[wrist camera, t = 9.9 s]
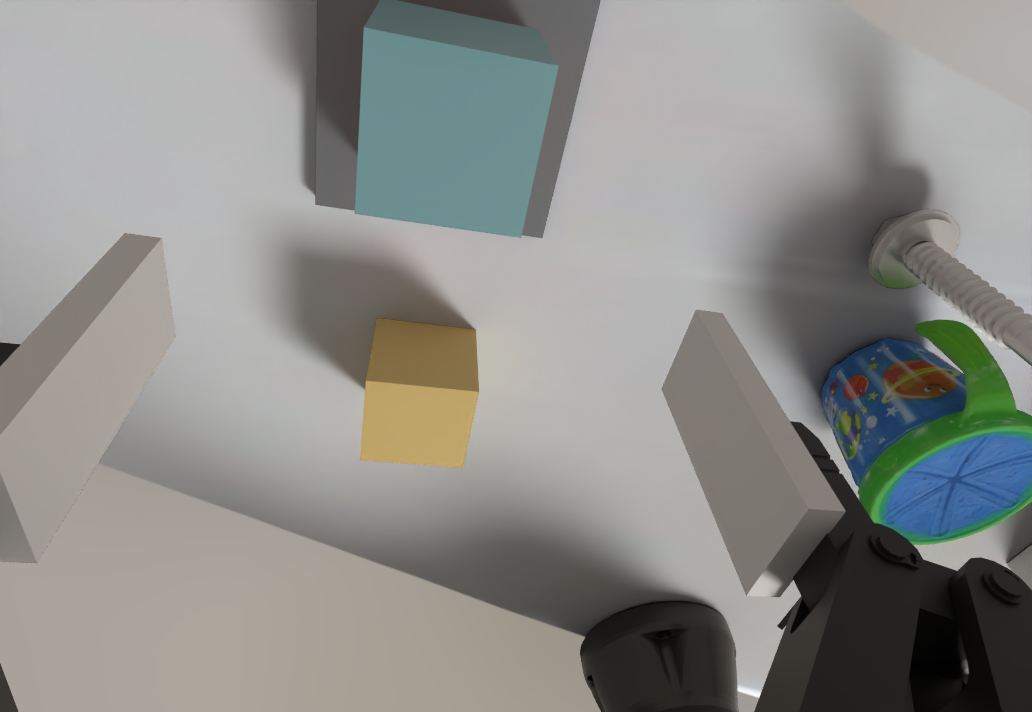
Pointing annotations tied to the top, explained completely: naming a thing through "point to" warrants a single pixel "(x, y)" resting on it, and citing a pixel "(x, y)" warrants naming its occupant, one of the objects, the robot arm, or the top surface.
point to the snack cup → (931, 434)
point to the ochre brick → (419, 394)
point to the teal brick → (450, 118)
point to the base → (530, 3)
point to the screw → (946, 276)
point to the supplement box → (1023, 566)
